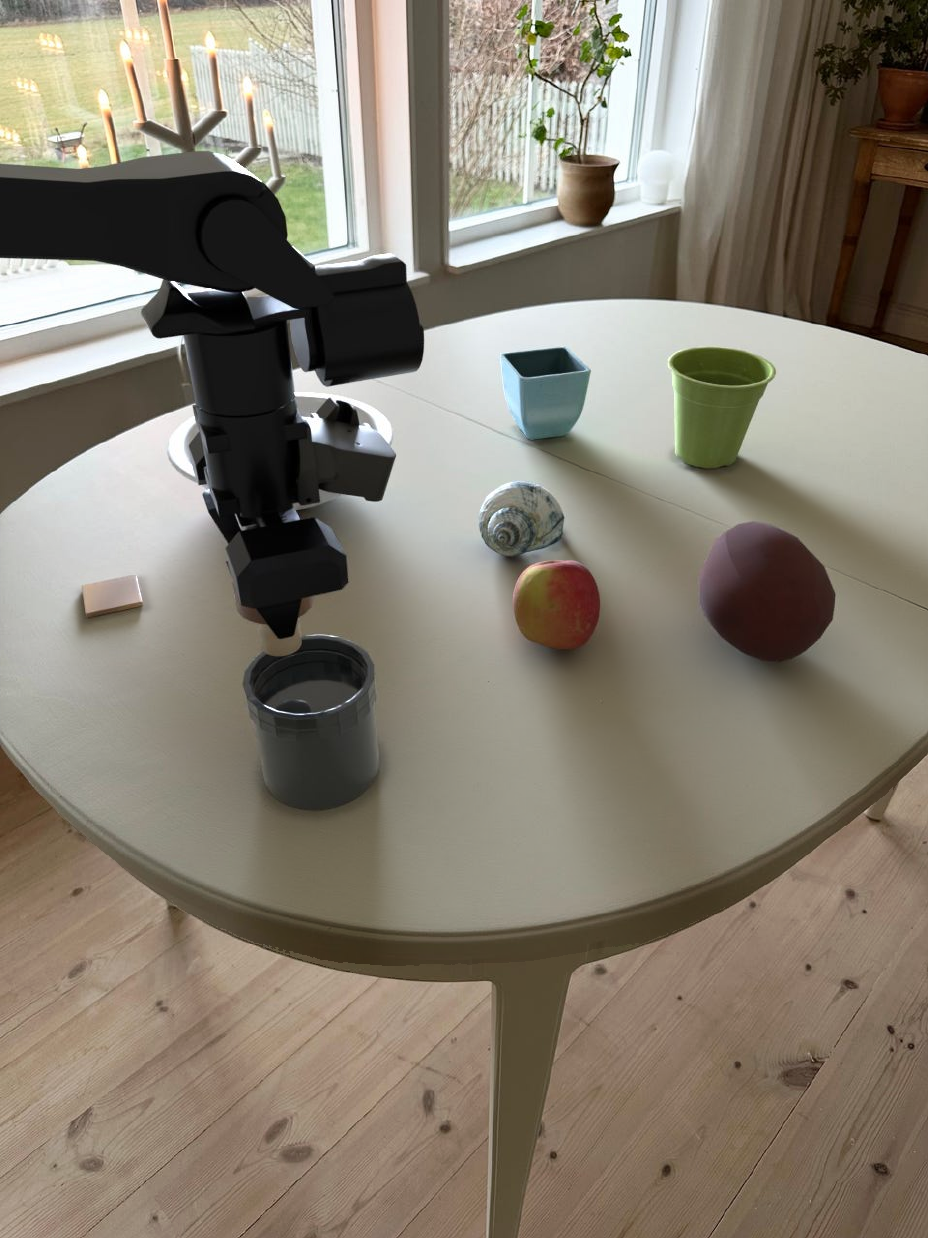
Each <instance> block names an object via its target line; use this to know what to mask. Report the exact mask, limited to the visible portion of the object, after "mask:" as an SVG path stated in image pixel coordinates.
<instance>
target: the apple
mask: <svg viewBox="0 0 928 1238" xmlns="http://www.w3.org/2000/svg"><path fill="white" fill-rule="evenodd" d="M512 594H513V596H512V609H513V616H514V619H515V622H516V625H517V627H518V629H519V631H520V633H521V634H522V635H523V636H524V638H526V639H527V640H528V641H530V642H532V643H534V644H538V645H542V646H543V647H547V648H552V649H559V650H576V649H578V648H580V647H582V646H584V645H585V644H587V642H588V641H589V640H590V638H591V637H592V636H593V634H594V632H595V630H596V628H597V627H598V626H597V625H598V622H599V619H600V614H601V595H600V590H599V586H598V583H597V582H596V579H595V577H594V576H593V574H592V572H591V571H590V569H589V568H588V567H587V566H585V565H584V564H582V563H581V562H579V561H576V560H569V559H568V560H559V559H549V560H545V561H538V562H536V563H533V564H531V565H529V566H528V567H527V568H525V569H524V570H523V571H522V572H521V574H520V575H519V576H518V578H517V581H516V583H515V586H514V589H513V593H512Z"/></svg>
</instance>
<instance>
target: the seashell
mask: <svg viewBox="0 0 928 1238" xmlns="http://www.w3.org/2000/svg"><path fill="white" fill-rule="evenodd" d="M564 523H565V515H564V513H563V510H562V507H561V505H560V503H559V501H558V500H557V499H556V497H555V496H554V495H553V493H552V492H551V491H549V490H548V489H547V488H545V487H543V486H542V485H539V484H537V483H535V482H530V481H524V480H519V481H511V482H508V483H505V484H503V485H500V486H499V487H497V488H496V489H494V490H493V491H492V492H491V493H489V494H488V495H487V496H486V497H485V499H484V501H483V504H482V505H481V507H480V510H479V513H478V529H479V532H480V535H481V538H482V540H483V542H484V544H485V545H486V546H487V547H488V548H489V549H490V550H491V551H493V552H495V553H496V554H498V555H500V556H503V557H519V556H520V555H524V554H526V553H530V552H533V551H537V550H542V549H546V548H548V547H551V546H553V545H555V544H557V543H558V542H560V541H561V540H562V539H563V533H564V525H565V524H564Z"/></svg>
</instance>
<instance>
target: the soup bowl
mask: <svg viewBox="0 0 928 1238" xmlns="http://www.w3.org/2000/svg"><path fill="white" fill-rule="evenodd" d="M330 396H332V397H337V398H342V399H347V400H349V401H350V402H351V403H352V405H353V406H354V407H355V409H356V410H357V414H358V419H359V424H360V426H363V423H367V424H369V425H370V427H371V428H372V429H374V430H376V431H377V432H379V433H380V434H381V435H382V436H383V437H384V439H385V440H386V441H387V443H388V444H389V445H390V447H391V446H392V444H393V440H394V431H393V428H392V425H391V423H390V421H389V420H388V419H387V417H386V416H384V415H383V413H381V412H380V411H378V410H377V409H376V408H374V407H372V406H370V405H368V404H367V403H363V402H361V401H359V400H355V399H352V398H348V397H344V396H339V395H334V394H328V393H327V394H326V393H315V392H295V399H296V404H297V409H298V411H299V413H300V414H301V416H302V417H305V418H310V416H311V413H314V414H315V413H316V412H317V410H318V409H319V408H320V407H321V406H322V405H323V404H324V402H325V401H326V400H327V399H328V398H329V397H330ZM198 432H199V429H198V427H197V424H196V422H195V417H194V416H192V417H190V418H189V419H187V420H186V421H185V422H183V423H182V424H181V425H180V426H179V427H177V428H176V430H175V431H174V432H173V433H172V435H171V436H170V438H169V440H168V442H167V448H166V450H167V451H166V453H167V458H168V461H169V462H170V464H171V466H172V467H173V468H174V469H175V471H176V472H177V473H178V474H180V475H181V476H183V477H185V478H186V479H188V480H189V481H192V482H194V483H197V484H198V482H197V480H196V477H195V474H194V471H193V467H192V462H191V457H190V451H189V446H188V445H189V444H190V443H191V441H192V440H193V439H194V437H195V436H196V435H197V434H198ZM201 487H203V488H204V489H205V490H209V488H208V485H207V484H205V485H201ZM319 495H320V503H314V504H309V505H304V506H301V505H300V504H299V503H294V504H293V506H294V508H295V510H296V511H300V510H304V509H305V510H306V509H309V508H313V507H316V506H319V505H323V504H325V503H327V502H330V501H332V500H334V499H336V498H338V497H340V496H342V494H337V493H330V492H326V491H323V490H320V489H319Z"/></svg>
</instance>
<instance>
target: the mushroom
mask: <svg viewBox="0 0 928 1238" xmlns="http://www.w3.org/2000/svg"><path fill="white" fill-rule="evenodd" d="M231 585H232V590H233V596H234V602H235V608H236V611H237V613H238V614H239V615H240V616H241V618H243V619H245V620H246V621H249V622H251V623H254V624H257V629H258V635H259V641H260V642H259V643H260V647H261V650H262V651H264V652H265V653H267V654H269V655H272V656H286V655H289V654H292V653H294V652H296V651H297V650H298V649H299V648H300V646H301V644H302V639H301V636H302V632H301V625H300V618H301V617H303V616H304V615H306V614H307V613H308V612H309V611H310V610H311V609H312V607H313V605H314V603H315V596H311V597H306V598H302V602H301V607H300V611H299V616H298V621H297V625H296V630H295V634H294V636H292V637H288V638H284V639H278V638H277V637H276V636H275V634H274V633H273V632H272V630H271V629H270V628H269V626H268V625H267V624H266V622H265V621H264V620H263V618H262V617H261V616H260V614H259V613H258V612H257V611H256V609H252V608H248V607H244V606H241V604H240V601H239V598H238V595H237V592H236V590H235V587H234V584H233V581H232V580H231Z"/></svg>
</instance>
